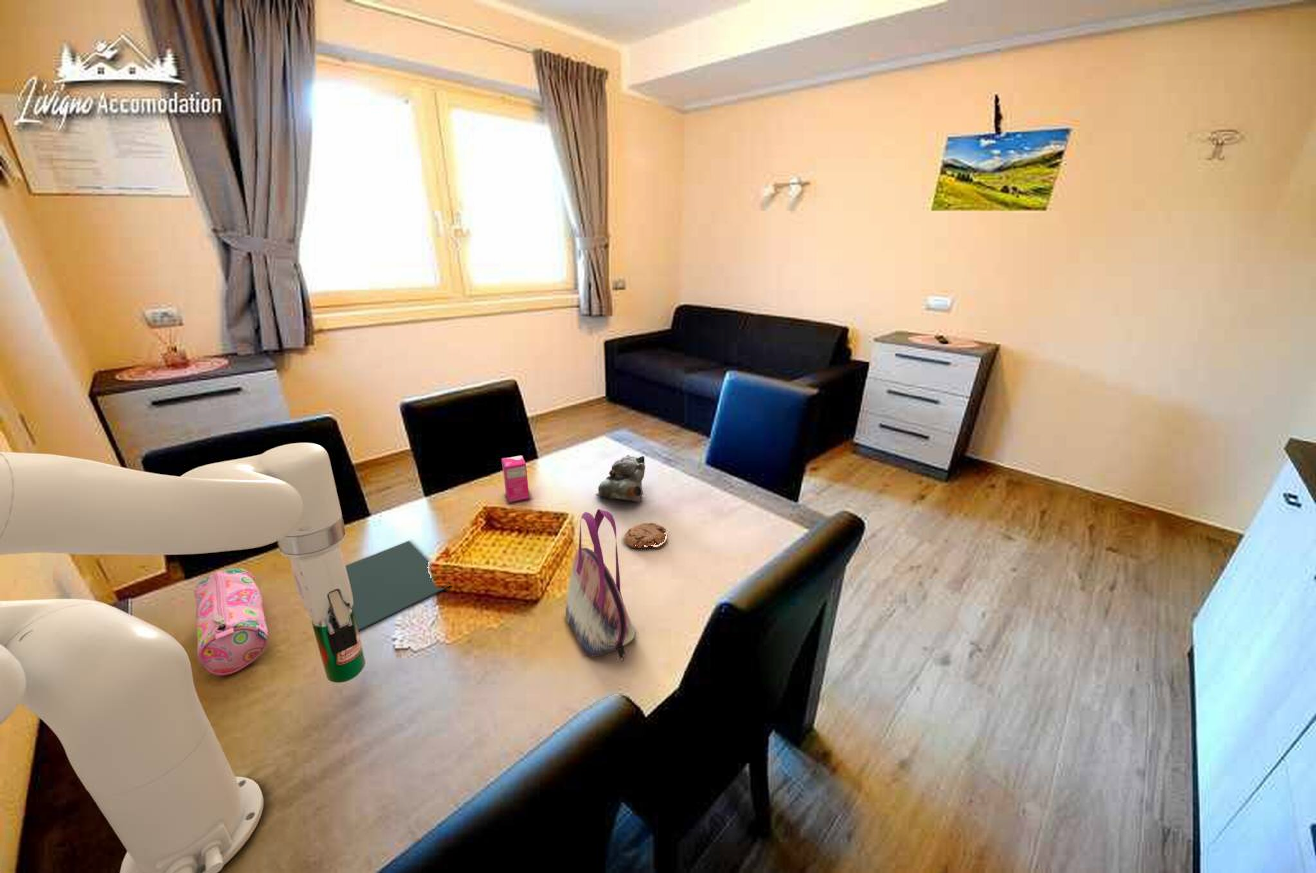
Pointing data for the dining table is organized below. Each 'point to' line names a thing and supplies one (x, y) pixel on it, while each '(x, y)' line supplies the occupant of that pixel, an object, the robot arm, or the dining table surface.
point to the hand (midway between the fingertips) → (338, 636)
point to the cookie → (645, 535)
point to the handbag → (597, 597)
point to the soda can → (344, 662)
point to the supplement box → (515, 479)
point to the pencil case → (229, 621)
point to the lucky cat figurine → (624, 480)
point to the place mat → (389, 583)
